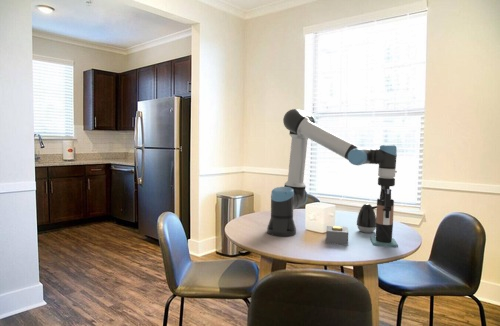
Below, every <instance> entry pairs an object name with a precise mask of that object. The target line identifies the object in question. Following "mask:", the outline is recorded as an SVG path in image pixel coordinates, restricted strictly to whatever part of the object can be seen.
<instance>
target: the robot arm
mask: <svg viewBox="0 0 500 326" xmlns="http://www.w3.org/2000/svg"><path fill="white" fill-rule="evenodd" d="M282 121H283V127H285V129H287V130H288V131H289V136H290V137H291V143H290V144H291V145H290V153H289V154H290V155H289V164H288V172H287V173H288V174H287V175H288V176H287V181H285V182H284V186H278V187H274V188H273V189H272V190H271V194H270V219H269V222H268V224H267V227H266V233H267V234H269V235H272V236H276V237H290V236H291V237H292V236H294V235H296V234H297V228H296V225H295V220H294V210H296V209H300V208H302V207H303V206H304V205H305V204H307V201H308V192H307V191H306V188H307V186H306V184H305V182H304V178H305V170H306V169H305V168H306V158H307V148H308V140H311V141H314V142H315V143H316V144H318V145H320V146H322V147H324V148H326V149H328V150H330V151H331V152H333V153H335V154H336V155H339V156H340V157H342V158H344V159H346V160H347V161H348V162H349V163H350V164H351V165H354V166H362V165H365V164H366V165H367V164H368V165H369V164H371V165H378V168H377V169H378V173H377V174H378V175H377V176H378V178H377V185H378V186H380V193H379V199H383V198H384V209H383V211H384V216H383V225H390V211H391V210H392V209H391V199H392V189H390V187H395V185H396V178H395V177H396V173H397V169H396V167H397V153H398V152H397V148H398V147H397V146H396V145H394V144H380V145H379V148H371V147H369V148H368V147H359V146H357V145H356V144H354V143H352V142H350V141H348V140H346V139H344V138H343V137H340V136H338V135H336V134H335V133H332V132H331V131H329V130H327V129H325V128H324V127H322V126H320V125H318V124H316V119H315V117H314V114H312V113H311V112H310V111H307V110H302V109H298V108H292V109H289V110H287V112H286V113H285V114H284V115H283V120H282Z"/></svg>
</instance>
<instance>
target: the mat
mask: <svg viewBox="0 0 500 326" xmlns="http://www.w3.org/2000/svg"><path fill="white" fill-rule="evenodd" d="M370 241H371V244H372V246H378V247H379V246H381V247H392V248H399V244H398V243H397V241H396V240H395V238H394V237H392V241H391V242H390V243H383V242H378V241H376V236H370Z"/></svg>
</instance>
